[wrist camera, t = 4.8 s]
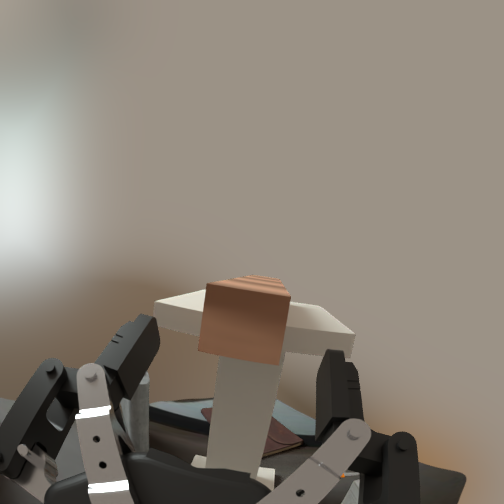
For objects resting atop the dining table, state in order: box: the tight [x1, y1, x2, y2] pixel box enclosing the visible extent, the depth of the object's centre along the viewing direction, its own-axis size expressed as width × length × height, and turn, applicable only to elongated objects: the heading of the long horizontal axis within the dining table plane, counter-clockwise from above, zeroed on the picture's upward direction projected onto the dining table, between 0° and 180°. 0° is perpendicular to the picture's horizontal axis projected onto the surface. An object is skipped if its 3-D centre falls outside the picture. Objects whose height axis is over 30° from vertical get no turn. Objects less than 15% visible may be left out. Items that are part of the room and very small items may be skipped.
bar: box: [198, 275, 291, 366], centre depth 23 cm, size 24×4×3 cm, turn 175°
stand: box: [153, 289, 355, 491], centre depth 28 cm, size 18×16×32 cm
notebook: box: [201, 408, 303, 457], centre depth 51 cm, size 15×20×2 cm
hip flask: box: [120, 371, 149, 452], centre depth 38 cm, size 16×4×20 cm, turn 35°
